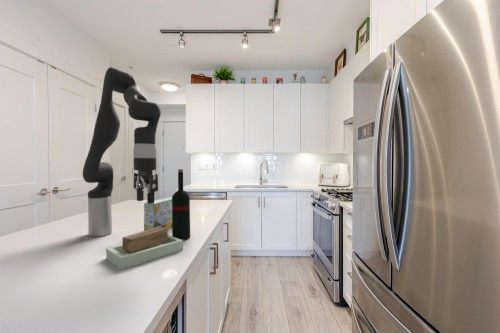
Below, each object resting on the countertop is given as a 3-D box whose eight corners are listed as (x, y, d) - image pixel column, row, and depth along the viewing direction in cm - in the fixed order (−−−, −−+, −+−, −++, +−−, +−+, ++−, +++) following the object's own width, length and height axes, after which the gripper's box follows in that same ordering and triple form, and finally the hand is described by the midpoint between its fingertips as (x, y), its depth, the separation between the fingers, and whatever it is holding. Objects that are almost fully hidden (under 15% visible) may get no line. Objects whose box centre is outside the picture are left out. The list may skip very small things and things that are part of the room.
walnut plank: (122, 251, 81) (122, 237, 81) (158, 239, 94) (158, 226, 94) (132, 254, 78) (131, 239, 78) (167, 241, 92) (167, 228, 92)
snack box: (154, 237, 105) (154, 203, 105) (143, 236, 106) (142, 203, 106) (178, 224, 126) (178, 196, 126) (168, 224, 127) (168, 196, 127)
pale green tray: (106, 258, 82) (106, 248, 82) (165, 242, 99) (165, 233, 99) (121, 269, 74) (120, 258, 74) (183, 249, 90) (183, 240, 90)
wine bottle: (185, 232, 112) (184, 168, 112) (193, 238, 104) (192, 169, 103) (168, 235, 108) (167, 169, 107) (174, 241, 99) (173, 169, 99)
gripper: (164, 157, 83) (165, 203, 84) (146, 157, 93) (146, 198, 93) (143, 156, 78) (143, 206, 78) (126, 157, 87) (126, 201, 88)
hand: (145, 202), depth 86 cm, fingers open, 8 cm apart
